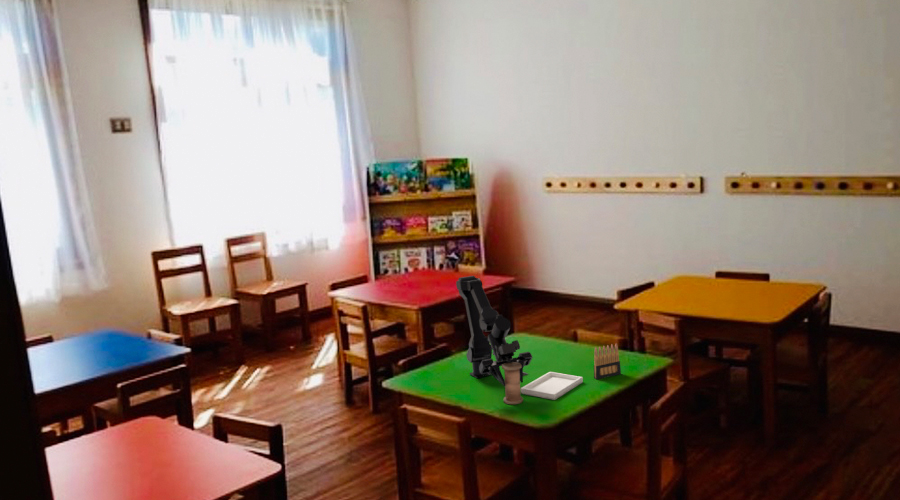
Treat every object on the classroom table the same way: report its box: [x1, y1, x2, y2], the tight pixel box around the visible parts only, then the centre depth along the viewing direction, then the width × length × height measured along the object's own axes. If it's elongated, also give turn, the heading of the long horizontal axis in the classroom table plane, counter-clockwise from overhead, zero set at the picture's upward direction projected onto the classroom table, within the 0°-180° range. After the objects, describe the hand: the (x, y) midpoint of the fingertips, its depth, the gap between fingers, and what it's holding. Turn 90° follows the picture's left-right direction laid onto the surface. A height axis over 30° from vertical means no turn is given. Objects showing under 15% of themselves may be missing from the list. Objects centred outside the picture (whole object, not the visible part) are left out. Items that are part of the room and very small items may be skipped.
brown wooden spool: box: [501, 362, 524, 405], centre depth 250 cm, size 7×7×13 cm
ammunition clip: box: [593, 342, 622, 380], centre depth 267 cm, size 11×2×12 cm, turn 111°
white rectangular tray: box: [520, 371, 584, 401], centre depth 261 cm, size 20×14×2 cm
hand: (513, 383), depth 249 cm, fingers closed on brown wooden spool, 6 cm apart
